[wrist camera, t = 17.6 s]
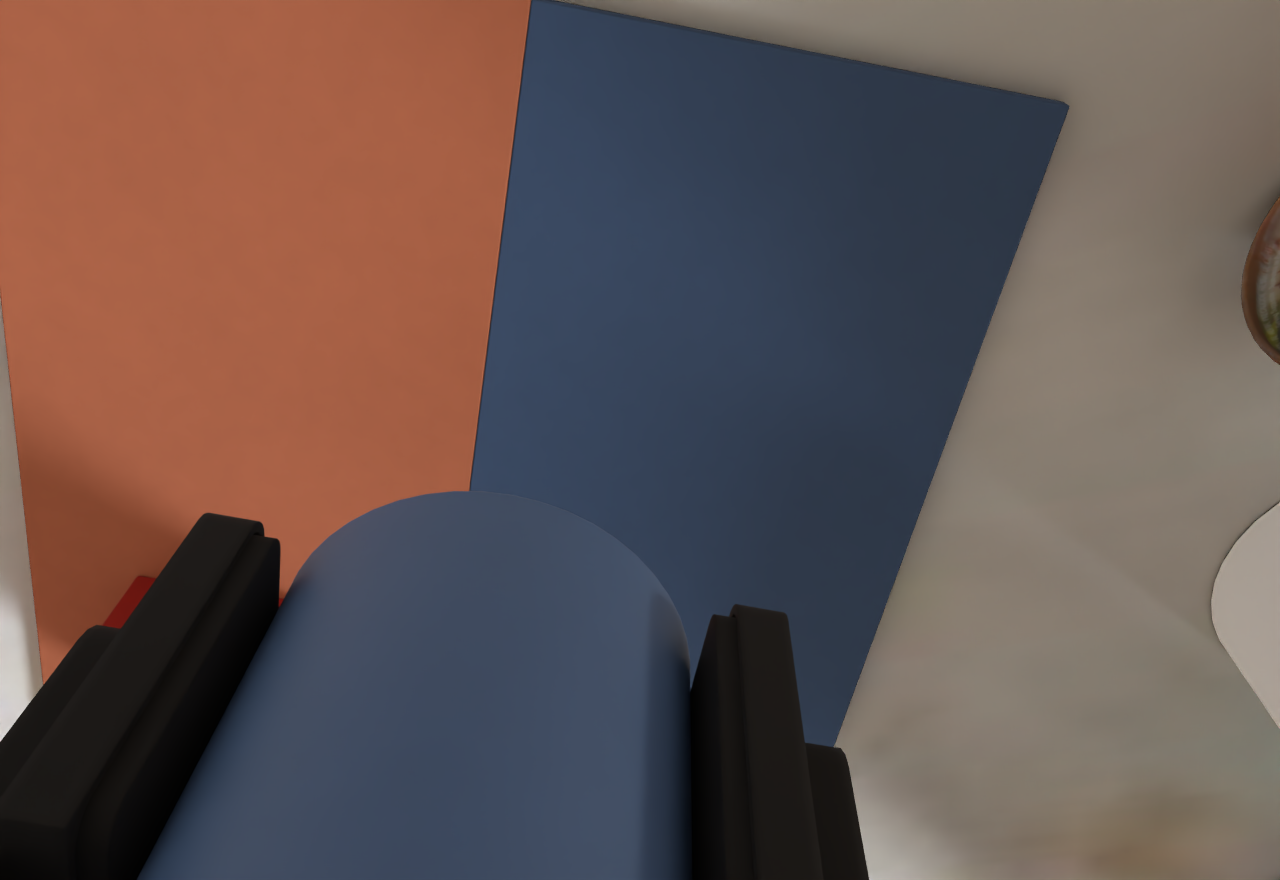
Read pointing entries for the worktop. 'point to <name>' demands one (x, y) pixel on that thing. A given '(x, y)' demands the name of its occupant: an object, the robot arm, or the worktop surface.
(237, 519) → the robot arm
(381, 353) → the mat
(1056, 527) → the worktop surface
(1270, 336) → the tin
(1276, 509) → the cylindrical container
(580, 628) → the blue cylinder
